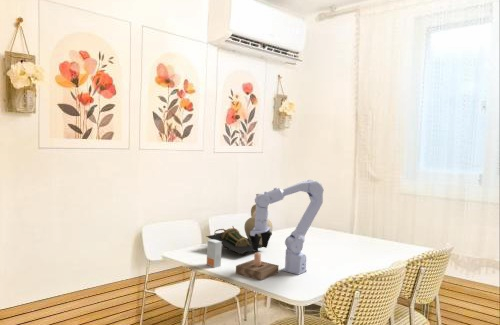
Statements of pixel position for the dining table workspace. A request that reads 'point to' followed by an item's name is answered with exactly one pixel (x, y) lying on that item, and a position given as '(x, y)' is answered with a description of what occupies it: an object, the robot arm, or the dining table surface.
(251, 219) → the vase
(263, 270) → the socket block
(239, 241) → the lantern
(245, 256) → the dining table surface
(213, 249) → the skincare box
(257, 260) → the peg
